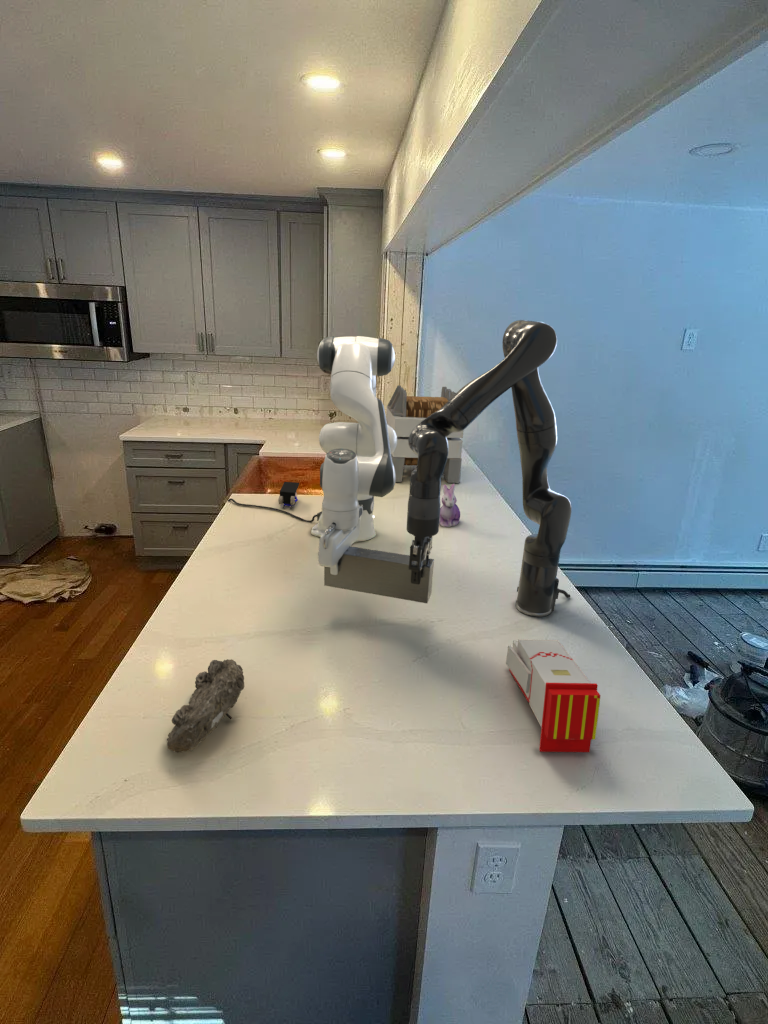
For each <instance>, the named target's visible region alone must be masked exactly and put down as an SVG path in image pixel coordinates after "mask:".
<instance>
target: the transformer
mask: <svg viewBox="0 0 768 1024" xmlns="http://www.w3.org/2000/svg"><path fill="white" fill-rule="evenodd" d="M440 393H441V394H440V396H415V395H414V396H413V395H412V396H411V395H407V394H408V393H407V390H406V389H404V388H403V387H402V385H399V384H398V385H397V386H396V388H395V390H394V392H393V394H392V395H391V398H390V400H389V402H388V404H387V405H386V411H385V415H386V421H387V424H388V425H389V426H391V427H392V428H393V429H394V431H395V433H396V435H397V446H396V449H395V450H394V452H393V453H392V454H391V458H392V462H393V465H394V468H395V474H396V481H395V483H402V482H403V475H404V469H405V466H406V467H407V466H411V467H412V466H413V467H415V466H416V467H417V464H418V455H416V454H415V453H414V452H413V451H412V450H411V449H410V447H409V444H408V440H409V436H410V434H411V432H412V430H413V429H414V428H415V427H416V426H417V425H418V424H419V423H420V422H421V421H423V420H424V419H426V418H427V417H429V416H430V415H431V414H433V413H434V412H436V411H438V410H439V409H441V408H442V407H443V406H444V405H445V404H446V403H447V402H448V401H449V400H450V399H451V398H452V397H453V396H454V395H455V394H456V393H457V392H455V391H453V390H452V389H451V388H447V386H442V387H441V392H440ZM464 431H465V429H464V430H463V431H461V432H454V433H451V434H450V435H448V436H447V437H446V438H447V441H448V457H447V461H446V464H445V468H444V471H443V474H442V476H443V478H444V479H445V481H446V482H447V483H449V484H455V483H456V484H459V483H461V472H462V461H463V460H462V453H463V442H464V441H463V440H462V439H463V438H464Z"/></svg>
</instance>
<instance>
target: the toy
mask: <svg viewBox="0 0 768 1024" xmlns="http://www.w3.org/2000/svg"><path fill="white" fill-rule="evenodd" d="M505 659H506V660H505V665H506V666H507V667H508V671H509V673H510V674H511V676H512V678H513V679H514V681H515V682H516V685H517V686H518V688H519V690H520V691H521V692H522V694H523V697H525V699H526V701H527V703H529V707H530V709H531V711H532V712H533V714H534V716H535V718H536V720H537V722H538V724H539V726H540V728H541V729H540V739H539V748H538V751H539V752H540V753H543V752H544V753H590V752H591V744H592V743H591V742H592V740H596V736H597V727H598V720H599V719H598V718H599V710H600V704H601V703H600V702H601V696H602V695H601V694H600V693H599V692H598V687H599V686H598V683H595V682H594V683H592V682H591V681H590V679H589V678H588V677H587V676H586V674H585V673H584V671H583V670H582V669H581V668H580V666H579V665H578V664H577V663H576V662H575V661H576V660H574V659H573V658H572V656H571V655H570V653H568V651H567V650H566V648H565V647H564V645H563V644H562V643H561V642H560V641H559V639H529V638H528V639H524V638H521V639H517V640H512V645H511V644H510V645H509V644H508V646H507V653H506V658H505Z"/></svg>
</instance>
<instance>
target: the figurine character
mask: <svg viewBox="0 0 768 1024" xmlns="http://www.w3.org/2000/svg"><path fill="white" fill-rule="evenodd" d="M299 486H300V482H296V481H295V482H294V481H293V482H292V481H284V482H283V484H282V486H281V488H280V490H279V496H278V505H279V506H282V510H283V509H284V510H285V508H286V507H289V509H290V510H291V509H292V508H293V506H294V505H296V502H298V501H299V500H298V492H297V490H298V489H299Z"/></svg>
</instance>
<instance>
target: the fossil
mask: <svg viewBox="0 0 768 1024" xmlns="http://www.w3.org/2000/svg"><path fill="white" fill-rule="evenodd" d="M243 670H244V669H243V667H242V665H240V664H237V662H236V661H235V660H234V659H232V658H231V659H227V658H226V659H224V660H223V661H222V660H217V659H212V660H211V661H210V663H209V665H208V666H207V671H201V672H199V673H198V674H197V675H196V676H195V680H194V684H195V685H194V687H195V689H194V690H193V693H192V694H191V697H190V698H189V700H188V704H184V705H182V706H181V707H180V709H177V710H176V711H175V713H174V715H173V716H172V718H171V723H172V724H173V727H172V730H171V731H170V732H168V734H167V738H166V741H167V742H166V745H167V749H168V750H169V751H173V752H174V753H176V754H178V753H182V752H188V751H189V752H192V751H193V750H195V748H196V747H197V746H199V744H200V743H201V742H203V741H204V740H205V739H206V738H207V737H208V736H209V735H210V734H211V733H212V732H214V730H215V729H217V727H218V726H219V724H220V722H221V721H222V720H223V719H224V718H225V716H226V717H227V719H229V720H233V717H232V715H230V714H229V710H230V709H231V708H234V706H235V704H236V703H237V702H238V699H239V697H240V695H241V693H242V691H243V690H245V689H244V688H245V675H244V671H243Z"/></svg>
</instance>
